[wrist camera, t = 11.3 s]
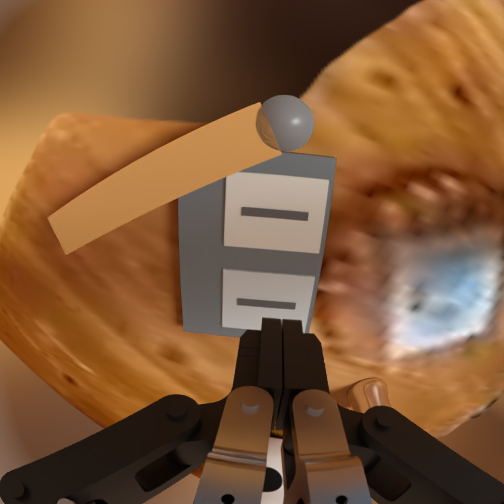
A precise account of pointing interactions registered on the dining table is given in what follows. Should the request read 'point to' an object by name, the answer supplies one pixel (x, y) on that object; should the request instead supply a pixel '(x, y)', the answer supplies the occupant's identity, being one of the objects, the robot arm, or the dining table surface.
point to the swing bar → (184, 168)
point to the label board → (255, 244)
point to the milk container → (273, 474)
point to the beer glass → (368, 395)
